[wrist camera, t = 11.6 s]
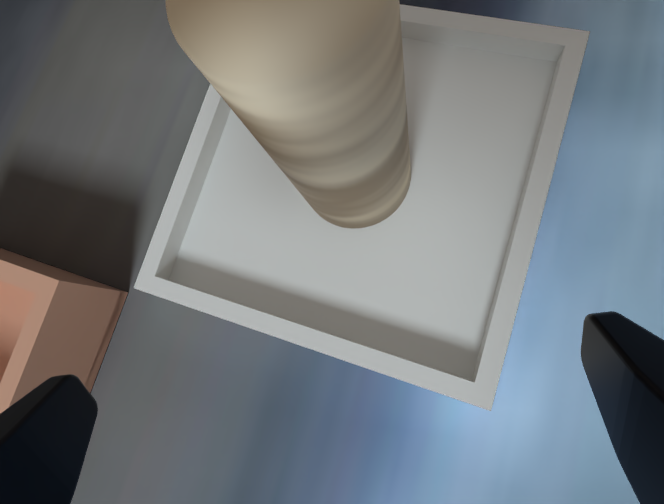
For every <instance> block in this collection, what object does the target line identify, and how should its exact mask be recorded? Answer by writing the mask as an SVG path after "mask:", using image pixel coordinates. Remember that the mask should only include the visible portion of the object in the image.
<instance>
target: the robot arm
mask: <svg viewBox="0 0 664 504" xmlns="http://www.w3.org/2000/svg"><path fill="white" fill-rule="evenodd" d="M581 359H582V363H583V367H584V369H585V372H586V375H587V378H588V380H589V383H590V386H591V388H592V391H593V394H594V396H595V399H596V402H597V405H598V407H599V410H600V413H601V415H602V418H603V421H604V423H605V426H606V429H607V431H608V434H609V437H610V440H611V442H612V445H613V447H614V450H615V452H616V455H617V457H618V460H619V462H620V464H621V466H622V468H623V470H624V472H625V474H626V476H627V478H628V480H629V482H630V484H631V486H632V488H633V490H634V492H635V494H636V496H637V498H638V500H639V502H640V504H664V340H663V339H661V338H659V337H658V336H656V335H654V334H653V333H651V332H649V331H648V330H646V329H644V328H643V327H641V326H639V325H638V324H636V323H634V322H633V321H631V320H629V319H628V318H626V317H624V316H623V315H621V314H619V313H617V312H612V311H610V312H601V313H593V314H589V315H587V316H586V317H585V320H584V326H583V335H582V345H581ZM97 411H98V408H97V403H96V401H95V399H94V398H93V397H92V395H91V394H90V392H89V391H88V390H87V388H86V387H85V386H84V384H83V383H82V382H81V380H80V379H79V378H78V377H77V376H75V375H73V374H67V375H58V376H53V377H50V378H49V379H47V380H46V381H44V382H43V383H41V384H40V385H39V386H37V387H36V388H35V389H33V390H32V391H31V392H29V393H28V394H26V395H25V396H24V397H22V398H21V399H20V400H18V401H17V402H15V403H14V404H13V405H11V406H10V407H9V408H7V409H6V410H5V411H3V412H2V413H0V504H70V503H71V500H72V498H73V495H74V492H75V489H76V485H77V482H78V479H79V475H80V472H81V469H82V465H83V462H84V458H85V455H86V451H87V448H88V444H89V441H90V438H91V434H92V431H93V427H94V424H95V420H96V417H97Z"/></svg>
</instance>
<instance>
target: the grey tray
mask: <svg viewBox="0 0 664 504" xmlns="http://www.w3.org/2000/svg"><path fill="white" fill-rule="evenodd" d="M400 17H401V32H402V47H403V61H404V76H405V91H406V105H407V120H408V135H409V149H410V164H411V181H410V186H409V189H408V192H407V195H406V197H405V199H404V200H403V202H402V204H401V205H400V206H399V207H398V209H397V210H396V211H395V212H394V213H393V214H392V215H390V216H389V217H388V218H386V219H385V220H383V221H381V222H380V223H377V224H375V225H372V226H369V227H365V228H352V229H351V228H343V227H339V226H336V225H334V224H331V223H329V222H327V221H326V220H324V219H323V218H322V217H320V216H319V215H318V214H317V213H316V212H315V211H314V210H313V208H312V207H311V206H310V205H309V203H308V202H307V201H306V200H305V199H304V197H303V196H302V195H301V194H300V192H299V191H298V190H297V189H296V188H295V186H294V185H293V184H292V183H291V181H290V180H289V179H288V178H287V177H286V175H285V174H284V173H283V172H282V170H281V169H280V168H279V167H278V165H277V164H276V163H275V162H274V161H273V159H272V158H271V157H270V156H269V154H268V153H267V152H266V151H265V150H264V148H263V147H262V146H261V145H260V143H259V142H258V141H257V140H256V139H255V137H254V136H253V135H252V134H251V132H250V131H249V130H248V129H247V128H246V126H245V125H244V124H243V123H242V121H241V120H240V119H239V118H238V117H237V115H236V114H235V113H234V112H233V110H232V109H231V108H230V107H229V106H228V104H227V103H226V102H225V101H224V99H223V98H222V97H221V96H220V95H219V93H218V92H217V91H216V90H215V88H214V87H213V86H212V85H211V84H210V86H209V89H208V91H207V94H206V97H205V99H204V102H203V105H202V107H201V110H200V113H199V115H198V118H197V121H196V123H195V126H194V129H193V131H192V134H191V137H190V139H189V142H188V144H187V147H186V150H185V152H184V155H183V158H182V160H181V163H180V166H179V168H178V171H177V174H176V176H175V179H174V182H173V184H172V187H171V190H170V192H169V195H168V198H167V200H166V203H165V206H164V208H163V211H162V214H161V216H160V219H159V222H158V224H157V227H156V230H155V232H154V235H153V238H152V240H151V243H150V246H149V248H148V251H147V254H146V256H145V259H144V262H143V264H142V267H141V270H140V272H139V275H138V278H137V280H136V283H135V286H134V288H135V289H138V290H141V291H144V292H147V293H149V294H152V295H155V296H158V297H161V298H164V299H167V300H170V301H173V302H176V303H179V304H181V305H184V306H187V307H190V308H193V309H196V310H199V311H202V312H205V313H208V314H210V315H213V316H216V317H219V318H222V319H225V320H228V321H231V322H234V323H237V324H239V325H242V326H245V327H248V328H251V329H254V330H257V331H260V332H263V333H266V334H269V335H271V336H274V337H277V338H280V339H283V340H286V341H289V342H292V343H295V344H298V345H300V346H303V347H306V348H309V349H312V350H315V351H318V352H321V353H324V354H327V355H329V356H332V357H335V358H338V359H341V360H344V361H347V362H350V363H353V364H356V365H359V366H361V367H364V368H367V369H370V370H373V371H376V372H379V373H382V374H385V375H388V376H390V377H393V378H396V379H399V380H402V381H405V382H408V383H411V384H414V385H417V386H419V387H422V388H425V389H428V390H431V391H434V392H437V393H440V394H443V395H446V396H449V397H451V398H454V399H457V400H460V401H463V402H466V403H469V404H472V405H475V406H478V407H480V408H483V409H486V410H489V411H491V408H492V405H493V401H494V397H495V393H496V389H497V385H498V382H499V378H500V374H501V370H502V366H503V363H504V359H505V355H506V351H507V347H508V343H509V340H510V336H511V332H512V328H513V324H514V320H515V317H516V313H517V309H518V305H519V301H520V297H521V294H522V290H523V286H524V282H525V278H526V275H527V271H528V267H529V263H530V259H531V255H532V252H533V248H534V244H535V240H536V236H537V232H538V229H539V225H540V221H541V217H542V213H543V210H544V206H545V202H546V198H547V194H548V190H549V187H550V183H551V179H552V175H553V171H554V167H555V164H556V160H557V156H558V152H559V148H560V144H561V141H562V137H563V133H564V129H565V125H566V122H567V118H568V114H569V110H570V106H571V102H572V99H573V95H574V91H575V87H576V83H577V79H578V76H579V72H580V68H581V64H582V60H583V57H584V53H585V49H586V45H587V41H588V37H589V34H590V31H584V30H577V29H570V28H563V27H556V26H549V25H542V24H535V23H528V22H521V21H514V20H507V19H500V18H493V17H486V16H479V15H472V14H465V13H458V12H451V11H444V10H437V9H430V8H423V7H416V6H409V5H402V4H400Z"/></svg>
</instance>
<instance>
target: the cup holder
mask: <svg viewBox="0 0 664 504" xmlns="http://www.w3.org/2000/svg"><path fill="white" fill-rule="evenodd" d="M127 294H128V292H125V291H122V290H120V289H117V288H114V287H111V286H108V285H105V284H102V283H99V282H97V281H94V280H91V279H88V278H85V277H82V276H79V275H76V274H74V273H71V272H68V271H65V270H62V269H59V268H56V267H54V266H51V265H48V264H45V263H42V262H39V261H36V260H33V259H31V258H28V257H25V256H22V255H19V254H16V253H13V252H10V251H8V250H5V249H2V248H0V413H2V412H3V411H5V410H6V409H7V408H9V407H10V406H11V405H13V404H14V403H15V402H17V401H18V400H20V399H21V398H22V397H24V396H25V395H26V394H28V393H29V392H31V391H32V390H33V389H35V388H36V387H37V386H39V385H40V384H41V383H43V382H44V381H46V380H47V379H49V378H50V377H53V376H58V375H67V374H73V375H75V376H77V377H78V378H79V379H80V380H81V382H82V383H83V384H84V386H85V387H86V388H87V390H88V391H89V392H91V390H92V387H93V384H94V382H95V379H96V376H97V374H98V371H99V368H100V366H101V363H102V361H103V358H104V355H105V353H106V350H107V347H108V345H109V342H110V339H111V337H112V334H113V331H114V329H115V326H116V323H117V321H118V318H119V315H120V313H121V310H122V307H123V305H124V302H125V300H126V297H127Z"/></svg>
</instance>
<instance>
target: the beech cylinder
mask: <svg viewBox="0 0 664 504" xmlns="http://www.w3.org/2000/svg"><path fill="white" fill-rule="evenodd" d="M166 10H167V16H168V21H169V24H170V27H171V30H172V32H173V34H174V36H175V38H176V40H177V42H178V43H179V45H180V46H181V48H182V49H183V50H184V52H185V53H186V54H187V55H188V57H189V58H190V59H191V60H192V61H193V63H194V64H195V65H196V66H197V68H198V69H199V70H200V71H201V72H202V74H203V75H204V76H205V77H206V79H207V80H208V81H209V82H210V84H211V85H212V86H213V87H214V88H215V90H216V91H217V92H218V93H219V95H220V96H221V97H222V98H223V99H224V101H225V102H226V103H227V104H228V106H229V107H230V108H231V109H232V110H233V112H234V113H235V114H236V115H237V117H238V118H239V119H240V120H241V121H242V123H243V124H244V125H245V126H246V128H247V129H248V130H249V131H250V132H251V134H252V135H253V136H254V137H255V139H256V140H257V141H258V142H259V143H260V145H261V146H262V147H263V148H264V150H265V151H266V152H267V153H268V154H269V156H270V157H271V158H272V159H273V161H274V162H275V163H276V164H277V165H278V167H279V168H280V169H281V170H282V172H283V173H284V174H285V175H286V177H287V178H288V179H289V180H290V181H291V183H292V184H293V185H294V186H295V188H296V189H297V190H298V191H299V192H300V194H301V195H302V196H303V197H304V199H305V200H306V201H307V202H308V203H309V205H310V206H311V207H312V208H313V210H314V211H315V212H316V213H317V214H318V215H319V216H320V217H322V218H323V219H324V220H326V221H327V222H329V223H331V224H334V225H336V226H339V227H343V228H351V229H352V228H365V227H369V226H372V225H375V224H377V223H380V222H381V221H383V220H385V219H386V218H388V217H389V216H390V215H392V214H393V213H394V212H395V211H396V210H397V209H398V207H399V206H400V205H401V204H402V202H403V200H404V199H405V197H406V195H407V192H408V189H409V186H410V181H411V164H410V149H409V135H408V120H407V105H406V91H405V76H404V61H403V47H402V32H401V17H400V3H399V0H166Z"/></svg>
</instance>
